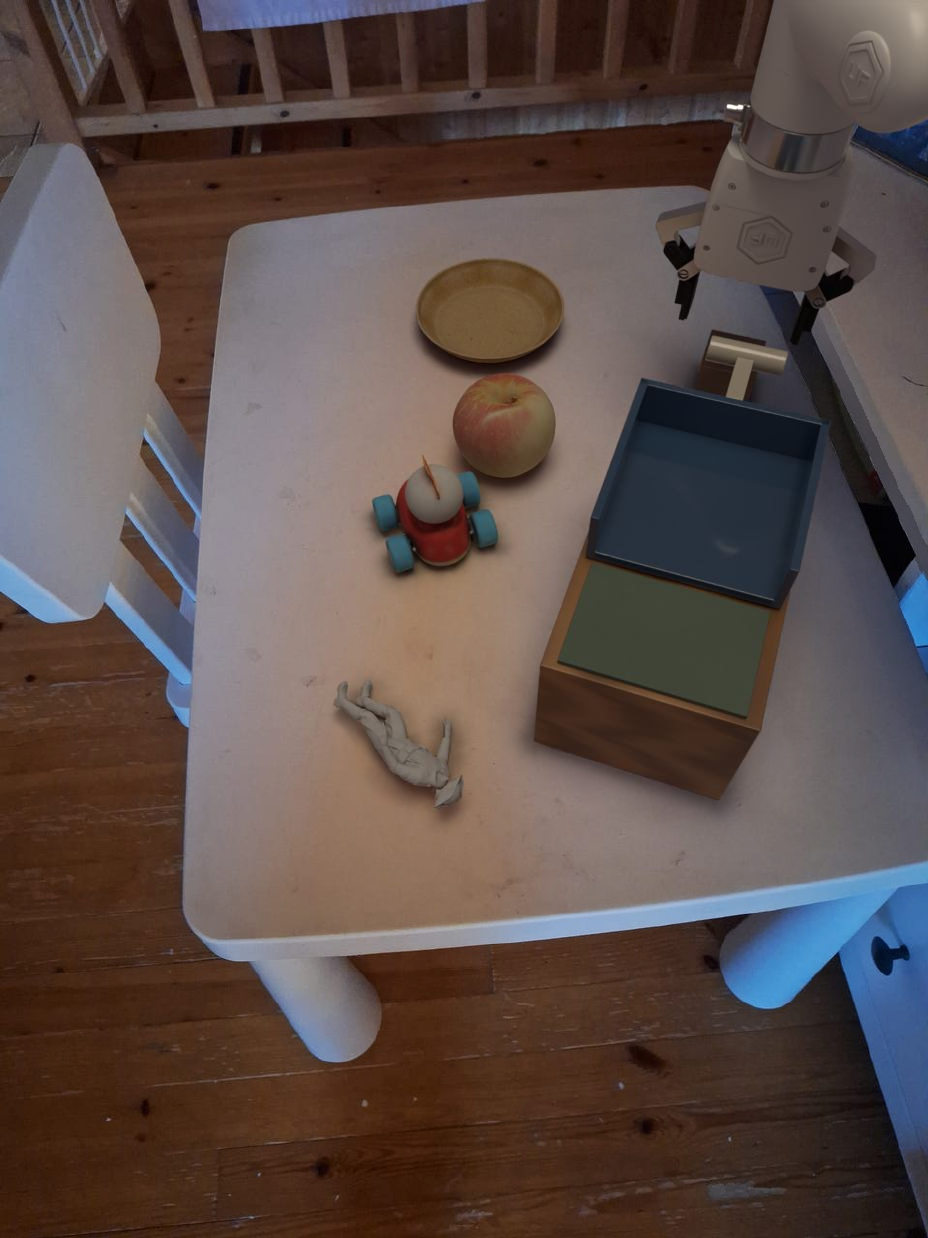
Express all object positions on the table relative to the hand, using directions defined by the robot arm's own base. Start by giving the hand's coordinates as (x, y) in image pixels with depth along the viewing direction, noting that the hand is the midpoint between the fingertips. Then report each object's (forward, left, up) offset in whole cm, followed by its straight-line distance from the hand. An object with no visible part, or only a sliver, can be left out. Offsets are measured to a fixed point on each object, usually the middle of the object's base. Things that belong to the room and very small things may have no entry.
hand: (740, 321), depth 79 cm
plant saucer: (+24, -2, -9) cm, 25 cm away
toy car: (+20, +24, -9) cm, 32 cm away
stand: (-1, +29, -8) cm, 30 cm away
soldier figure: (+15, +44, -9) cm, 47 cm away
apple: (+17, +14, -9) cm, 24 cm away
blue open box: (-1, +22, +4) cm, 22 cm away
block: (0, 0, -8) cm, 8 cm away
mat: (-1, +36, +4) cm, 36 cm away
